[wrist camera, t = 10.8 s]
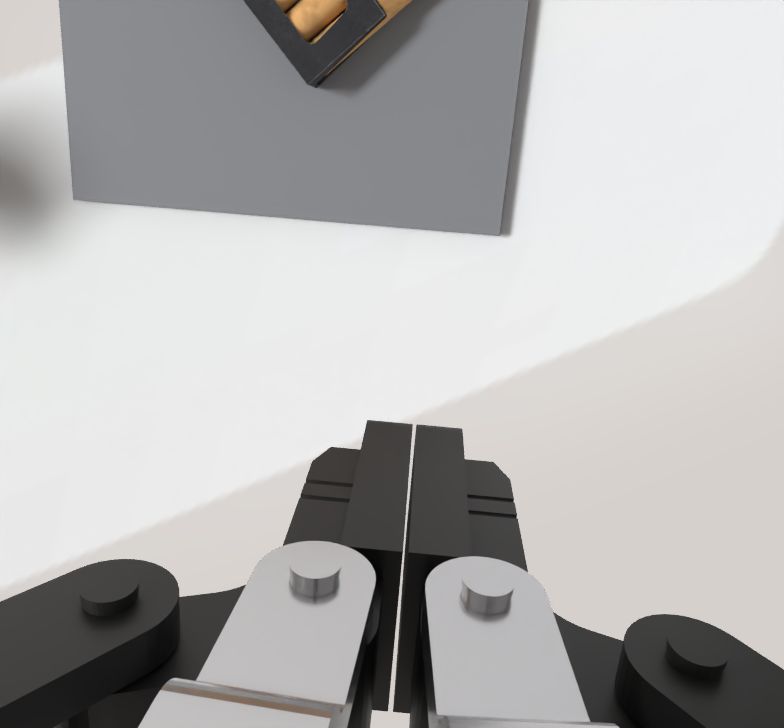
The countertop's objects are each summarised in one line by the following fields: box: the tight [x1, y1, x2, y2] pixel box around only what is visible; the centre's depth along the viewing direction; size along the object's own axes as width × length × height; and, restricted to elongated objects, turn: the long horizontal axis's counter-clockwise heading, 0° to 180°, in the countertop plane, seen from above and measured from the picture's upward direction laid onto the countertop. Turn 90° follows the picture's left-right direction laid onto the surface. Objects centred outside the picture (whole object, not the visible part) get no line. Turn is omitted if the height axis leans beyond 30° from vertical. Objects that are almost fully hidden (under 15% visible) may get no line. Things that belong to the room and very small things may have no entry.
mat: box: [59, 0, 529, 236], centre depth 38 cm, size 24×18×1 cm
